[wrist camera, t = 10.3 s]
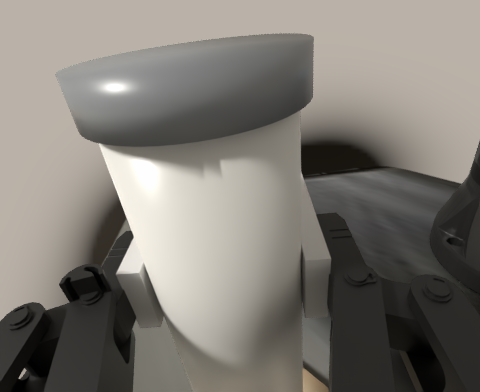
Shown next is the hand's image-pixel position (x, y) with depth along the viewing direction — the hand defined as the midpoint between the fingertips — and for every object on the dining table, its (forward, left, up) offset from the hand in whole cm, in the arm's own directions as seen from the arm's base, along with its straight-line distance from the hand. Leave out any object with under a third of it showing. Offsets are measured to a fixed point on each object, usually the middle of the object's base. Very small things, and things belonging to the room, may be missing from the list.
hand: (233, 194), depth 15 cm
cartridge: (+4, +4, -9) cm, 10 cm away
